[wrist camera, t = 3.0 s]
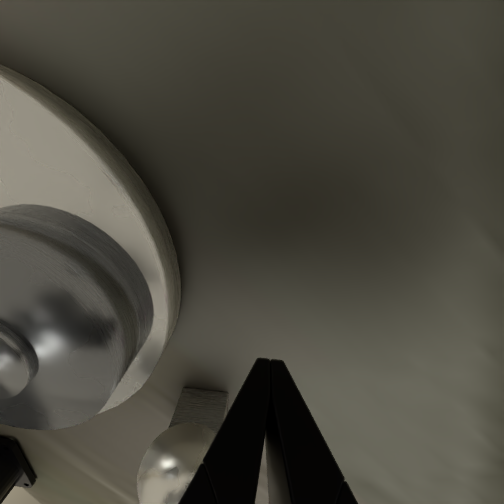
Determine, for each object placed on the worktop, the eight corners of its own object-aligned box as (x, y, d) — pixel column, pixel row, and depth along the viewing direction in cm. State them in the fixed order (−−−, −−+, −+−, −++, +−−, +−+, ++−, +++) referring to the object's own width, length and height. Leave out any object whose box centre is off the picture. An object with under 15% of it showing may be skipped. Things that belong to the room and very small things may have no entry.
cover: (161, 373, 12) (119, 460, 9) (4, 356, 12) (-94, 432, 9) (143, 213, 9) (66, 254, 5) (-69, 195, 9) (-262, 224, 6)
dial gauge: (234, 422, 17) (214, 567, 11) (178, 415, 17) (130, 554, 12) (236, 386, 16) (215, 530, 10) (175, 379, 16) (118, 517, 10)
